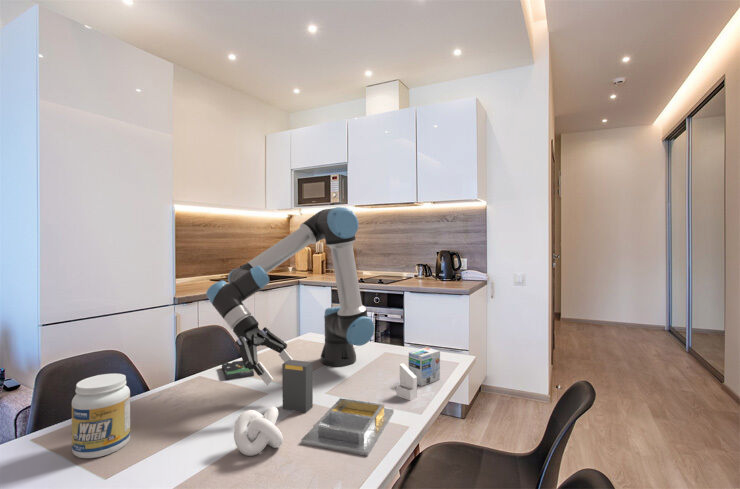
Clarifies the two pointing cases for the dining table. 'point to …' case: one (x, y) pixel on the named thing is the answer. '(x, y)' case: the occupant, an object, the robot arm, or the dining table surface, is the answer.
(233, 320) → the robot arm
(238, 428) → the white knot
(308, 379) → the grey block
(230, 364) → the disk drive
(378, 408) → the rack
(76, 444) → the supplement tub
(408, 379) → the white wedge bracket
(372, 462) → the dining table surface
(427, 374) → the light bulb box
